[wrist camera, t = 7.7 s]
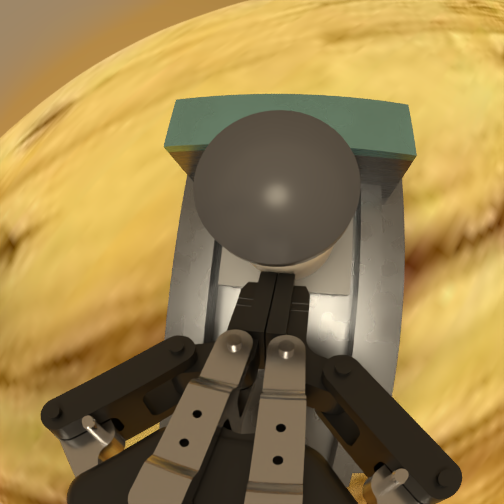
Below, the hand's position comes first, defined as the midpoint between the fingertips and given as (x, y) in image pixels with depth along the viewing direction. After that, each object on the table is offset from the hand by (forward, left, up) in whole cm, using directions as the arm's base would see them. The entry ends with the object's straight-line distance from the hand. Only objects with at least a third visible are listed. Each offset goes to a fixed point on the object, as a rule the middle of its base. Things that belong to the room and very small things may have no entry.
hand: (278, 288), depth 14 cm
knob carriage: (0, +3, -4) cm, 5 cm away
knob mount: (0, 0, -5) cm, 5 cm away
